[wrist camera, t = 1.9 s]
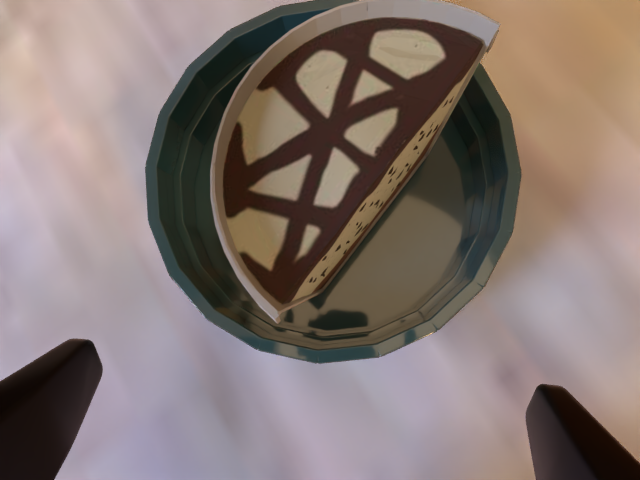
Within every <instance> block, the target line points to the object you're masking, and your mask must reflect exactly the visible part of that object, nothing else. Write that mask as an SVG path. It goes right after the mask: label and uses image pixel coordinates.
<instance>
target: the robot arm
mask: <svg viewBox="0 0 640 480" xmlns="http://www.w3.org/2000/svg"><path fill="white" fill-rule="evenodd" d="M102 371H103V368H102V363H101V361H100V358H99V356H98V353H97V351H96V348H95V346H94V344H93V342H92V341H90V340H85V339H69V340H67V341H65V342H64V343H62V344H60V345H59V346H57V347H56V348H54V349H52V350H51V351H49V352H47V353H46V354H44V355H43V356H41V357H39V358H38V359H36V360H34V361H33V362H31V363H30V364H28V365H26V366H25V367H23V368H21V369H20V370H18V371H17V372H15V373H13V374H12V375H10V376H8V377H7V378H5V379H4V380H2V381H0V480H54V479H55V477H56V475H57V473H58V472H59V470H60V468H61V466H62V464H63V462H64V461H65V459H66V457H67V455H68V453H69V451H70V449H71V447H72V445H73V443H74V440H75V438H76V436H77V434H78V431H79V429H80V427H81V424H82V422H83V419H84V417H85V415H86V412H87V410H88V408H89V405H90V403H91V400H92V398H93V396H94V393H95V391H96V389H97V386H98V384H99V382H100V379H101V376H102ZM526 425H527V431H528V437H529V443H530V449H531V454H532V460H533V466H534V472H535V477H536V480H640V463H639V462H638V461H637V460H636V459H635V458H634V457H633V456H632V455H631V454H630V453H629V452H628V451H627V450H626V449H625V448H624V447H623V446H622V445H621V444H620V443H619V442H618V441H617V440H616V439H615V438H614V437H613V436H612V435H611V434H610V433H609V432H608V431H607V430H606V429H605V428H604V427H603V426H602V425H601V424H600V423H599V422H598V421H597V420H596V419H595V418H594V417H593V416H592V415H591V414H590V413H589V412H588V411H587V410H586V409H585V408H584V407H583V406H582V405H581V404H580V403H579V402H578V401H577V400H576V399H575V398H574V397H573V396H572V395H571V394H570V393H569V392H568V391H567V390H566V389H565V388H563V387H561V386H558V385H547V384H540V385H539V386H537V388H536V390H535V392H534V394H533V396H532V399H531V401H530V403H529V405H528V407H527V410H526Z"/></svg>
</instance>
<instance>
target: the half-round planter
mask: <svg viewBox="0 0 640 480" xmlns="http://www.w3.org/2000/svg"><path fill="white" fill-rule="evenodd" d="M500 25H501V24H500V23H499V22H497V21H495V20H493V19H491V18H489V17H487V16H485V15H483V14H481V13H479V12H477V11H474V10H471V9H468V8H465V7H462V6H459V5H456V4H453V3H450V2H445V1H440V0H361V1H357V2H353V3H349V4H345V5H341V6H338V7H335V8H333V9H331V10H328V11H326V12H323V13H321V14H318V15H316V16H314V17H312V18H310V19H308V20H307V21H305V22H303V23H302V24H300V25H298V26H296V27H295V28H293V29H291V30H290V31H289V32H287V33H286V34H285V35H284V36H282V37H281V38H280V39H279V40H277V41H276V42H275V43H273V44H272V45H271V46H270V47H269V48H268V49H267V50H266V51H265V52H264V53H263V54H262V55H261V56H260V57H259V58H258V60H257V61H256V62H255V63H254V64H253V65H252V66H251V67H250V69H249V70H248V72H247V73H246V74H245V76H244V77H243V79H242V80H241V82H240V83H239V85H238V86H237V87H236V89H235V91H234V93H233V95H232V97H231V99H230V101H229V103H228V105H227V107H226V109H225V112H224V114H223V117H222V120H221V124H220V127H219V130H218V133H217V136H216V140H215V143H214V149H213V155H212V162H211V169H210V198H211V204H212V210H213V216H214V222H215V227H216V229H217V232H218V235H219V238H220V241H221V244H222V247H223V250H224V253H225V255H226V256H227V258H228V260H229V262H230V264H231V266H232V268H233V270H234V272H235V273H236V275H237V277H238V279H239V280H240V282H241V283H242V284H243V286H244V287H245V288H246V290H247V291H248V292H249V294H250V295H251V296H252V298H253V299H254V300H255V301H256V303H257V304H258V305H259V307H260V308H261V309H262V310H264V311H265V312H266V313H267V314H268V315H269V316H270V317H271V318H272V319H273V320H274V321H275V322H276V323H277V324H278V323H279V322H280V321H281V320H280V317H279V315H280V314H281V313H282V312H284V311H286V310H288V309H290V308H292V307H294V306H296V305H298V304H300V303H303V302H305V301H307V300H309V299H311V298H313V297H315V296H317V295H319V294H321V293H323V291H324V290H325V289H326V287H327V286H328V285H329V284H330V282H331V281H332V280H333V278H334V277H335V276H336V274H337V273H338V272H339V271H340V269H341V268H342V267H343V265H344V264H345V263H346V261H347V260H348V259H349V258H350V256H351V255H352V254H353V252H354V251H355V250H356V248H357V247H358V246H359V245H360V243H361V242H362V241H363V239H364V238H365V237H366V235H367V234H368V233H369V231H370V230H371V229H372V228H373V226H374V225H375V224H376V222H377V221H378V220H379V218H380V217H381V216H382V215H383V213H384V212H385V211H386V209H387V208H388V207H389V205H390V204H391V203H392V202H393V200H394V199H395V198H396V196H397V195H398V194H399V192H400V191H401V190H402V189H403V187H404V186H405V185H406V183H407V182H408V181H409V179H410V178H411V177H412V176H413V174H414V173H415V172H416V170H417V169H418V168H419V166H420V165H421V164H422V163H423V161H424V160H425V159H426V157H427V156H428V154H429V153H430V151H431V149H432V147H433V145H434V144H435V142H436V140H437V138H438V137H439V135H440V133H441V131H442V129H443V128H444V126H445V124H446V122H447V120H448V119H449V117H450V115H451V113H452V111H453V110H454V108H455V106H456V104H457V102H458V101H459V99H460V97H461V95H462V93H463V92H464V90H465V88H466V86H467V85H468V83H469V81H470V79H471V77H472V76H473V74H474V72H475V70H476V68H477V67H478V65H479V63H480V61H481V59H482V58H483V56H484V54H485V52H487V53H488V51H489V50H490V49H491V47H492V44H493V42H494V40H495V38H496V36H497V33H498V31H499V30H498V29H499V27H500Z"/></svg>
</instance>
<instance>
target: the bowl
mask: <svg viewBox="0 0 640 480" xmlns="http://www.w3.org/2000/svg"><path fill="white" fill-rule="evenodd" d="M357 1H360V0H313V1H307V2H301V3H295V4H288V5H282V6H279V7H276V8H274V9H272V10H270V11H268V12H266V13H263V14H261V15H259V16H257V17H255V18H253V19H251V20H249V21H247V22H244V23H242V24H240V25H238V26H236V27H234V28H232V29H230V31H227V32H226V33H225V34H224V35H223V36H222V37H220V38H219V39H218V40H217V41H216V42H215V43H214V44H213V45H211V46H210V47H209V48H208V49H207V50H206V51H205V52H204V53H202V54H201V55H200V56H199V57H198V58H197V59H196V60H195V61H193V62H192V63H191V64H190V65H189V67H187V69H186V70H185V72H184V74H183V75H182V77H181V78H180V80H179V82H178V83H177V85H176V87H175V88H174V90H173V91H172V93H171V95H170V96H169V98H168V99H167V101H166V103H165V104H164V106H163V108H162V109H161V111H160V114H159V115H158V119H157V123H156V127H155V131H154V134H153V138H152V142H151V146H150V150H149V154H148V157H147V161H146V167H145V173H146V192H147V210H148V221H149V225H150V228H151V230H152V233H153V235H154V238H155V240H156V243H157V246H158V248H159V251H160V253H161V256H162V258H163V261H164V263H165V266H166V269H167V271H168V273H169V276H170V277H171V278H172V279H173V280H174V282H175V283H176V284H177V285H178V286H179V288H180V289H181V290H182V291H183V292H184V294H185V295H186V296H187V297H188V298H189V300H190V301H191V302H192V303H193V304H194V305H195V307H196V308H197V309H198V310H199V311H200V313H201V314H202V315H203V316H204V317H205V318H206V319H207V320H208V321H210V322H212V323H213V324H215V325H217V326H218V327H220V328H221V329H223V330H225V331H226V332H228V333H230V334H231V335H233V336H235V337H236V338H238V339H239V340H241V341H243V342H244V343H246V344H248V345H249V346H251V347H253V348H254V349H256V350H257V349H258V350H259V351H262V352H267V353H271V354H276V355H280V356H285V357H289V358H294V359H298V360H302V361H307V362H311V363H319V364H321V363H331V362H341V361H350V360H360V359H370V358H379V357H382V356H384V355H387V354H389V353H391V352H393V351H395V350H397V349H400V348H402V347H404V346H406V345H408V344H411V343H413V342H415V341H417V340H419V339H422V338H424V337H426V336H428V335H430V334H433V333H435V332H437V330H440V329H441V328H442V327H443V326H444V325H445V324H446V323H447V322H448V321H449V320H450V319H451V318H452V317H453V316H454V315H456V314H457V313H458V312H459V311H460V310H461V309H462V308H463V307H464V306H465V305H466V304H467V303H468V302H469V301H470V300H471V299H473V298H474V297H475V296H476V295H477V294H478V293H479V292H480V291H481V290H482V289H483V287H485V285H486V283H487V281H488V279H489V277H490V275H491V273H492V271H493V270H494V268H495V266H496V264H497V262H498V260H499V258H500V256H501V254H502V253H503V251H504V249H505V247H506V245H507V243H508V241H509V239H510V237H511V235H512V233H513V228H514V222H515V215H516V208H517V202H518V195H519V188H520V182H521V168H520V162H519V157H518V152H517V146H516V141H515V136H514V130H513V125H512V120H511V116H510V113H509V111H508V110H507V108H506V106H505V104H504V102H503V101H502V99H501V97H500V95H499V94H498V92H497V90H496V88H495V87H494V85H493V83H492V81H491V80H490V78H489V76H488V74H487V73H486V71H485V69H484V67H483V66H482V65H481V64H480V63H479V65H478V67H477V68H476V70H475V72H474V74H473V76H472V77H471V79H470V81H469V83H468V85H467V86H466V88H465V90H464V92H463V93H462V95H461V97H460V99H459V101H458V102H457V104H456V106H455V108H454V110H453V111H452V113H451V115H450V117H449V119H448V120H447V122H446V124H445V126H444V128H443V129H442V131H441V133H440V135H439V137H438V138H437V140H436V142H435V144H434V145H433V147H432V149H431V151H430V153H429V154H428V156H427V157H426V159H425V160H424V161H423V163H422V164H421V165H420V166H419V168H418V169H417V170H416V172H415V173H414V174H413V176H412V177H411V178H410V179H409V181H408V182H407V183H406V185H405V186H404V187H403V189H402V190H401V191H400V192H399V194H398V195H397V196H396V198H395V199H394V200H393V202H392V203H391V204H390V205H389V207H388V208H387V209H386V211H385V212H384V213H383V215H382V216H381V217H380V218H379V220H378V221H377V222H376V224H375V225H374V226H373V228H372V229H371V230H370V231H369V233H368V234H367V235H366V237H365V238H364V239H363V241H362V242H361V243H360V245H359V246H358V247H357V248H356V250H355V251H354V252H353V254H352V255H351V256H350V258H349V259H348V260H347V261H346V263H345V264H344V265H343V267H342V268H341V269H340V271H339V272H338V273H337V274H336V276H335V277H334V278H333V280H332V281H331V282H330V284H329V285H328V286H327V287H326V289H325V290H324V291H323V293H321V294H319V295H317V296H315V297H313V298H311V299H309V300H307V301H305V302H303V303H300V304H298V305H296V306H294V307H292V308H290V309H288V310H286V311H284V312H282V313H281V314H280V315H279V317H280V320H281V321H280V322H279V323H278V324H277V323H276V322H275V321H274V320H273V319H272V318H271V317H270V316H269V315H268V314H267V313H266V312H265V311H264V310H262V309H261V308H260V307H259V305H258V304H257V303H256V301H255V300H254V299H253V298H252V296H251V295H250V294H249V292H248V291H247V290H246V288H245V287H244V286H243V284H242V283H241V282H240V280H239V279H238V277H237V275H236V273H235V272H234V270H233V268H232V266H231V264H230V262H229V260H228V258H227V256H226V255H225V253H224V250H223V247H222V244H221V241H220V238H219V235H218V232H217V229H216V227H215V222H214V216H213V210H212V204H211V198H210V169H211V162H212V155H213V149H214V143H215V140H216V136H217V133H218V130H219V127H220V124H221V120H222V117H223V114H224V112H225V109H226V107H227V105H228V103H229V101H230V99H231V97H232V95H233V93H234V91H235V89H236V87H237V86H238V85H239V83H240V82H241V80H242V79H243V77H244V76H245V74H246V73H247V72H248V70H249V69H250V67H251V66H252V65H253V64H254V63H255V62H256V61H257V60H258V58H259V57H260V56H261V55H262V54H263V53H264V52H265V51H266V50H267V49H268V48H269V47H270V46H271V45H272V44H273V43H275V42H276V41H277V40H279V39H280V38H281V37H282V36H284V35H285V34H286V33H287V32H289V31H290V30H291V29H293V28H295V27H296V26H298V25H300V24H302V23H303V22H305V21H307V20H308V19H310V18H312V17H314V16H316V15H318V14H321V13H323V12H326V11H328V10H331V9H333V8H335V7H338V6H341V5H345V4H349V3H353V2H357Z"/></svg>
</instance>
